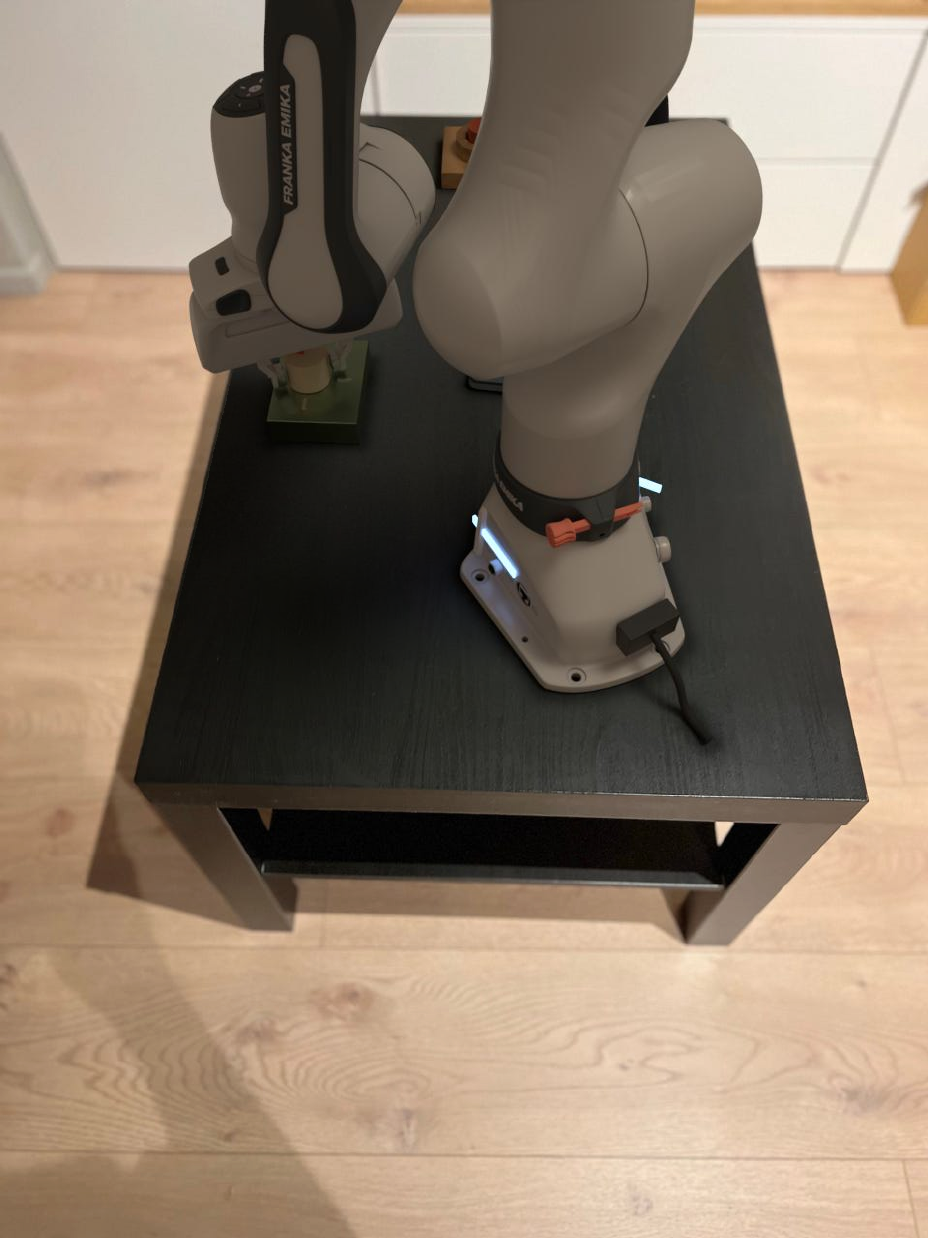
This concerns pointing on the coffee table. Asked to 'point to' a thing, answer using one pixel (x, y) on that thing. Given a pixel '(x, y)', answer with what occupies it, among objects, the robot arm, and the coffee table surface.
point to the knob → (308, 370)
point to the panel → (324, 404)
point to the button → (473, 129)
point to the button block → (455, 155)
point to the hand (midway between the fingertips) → (308, 375)
